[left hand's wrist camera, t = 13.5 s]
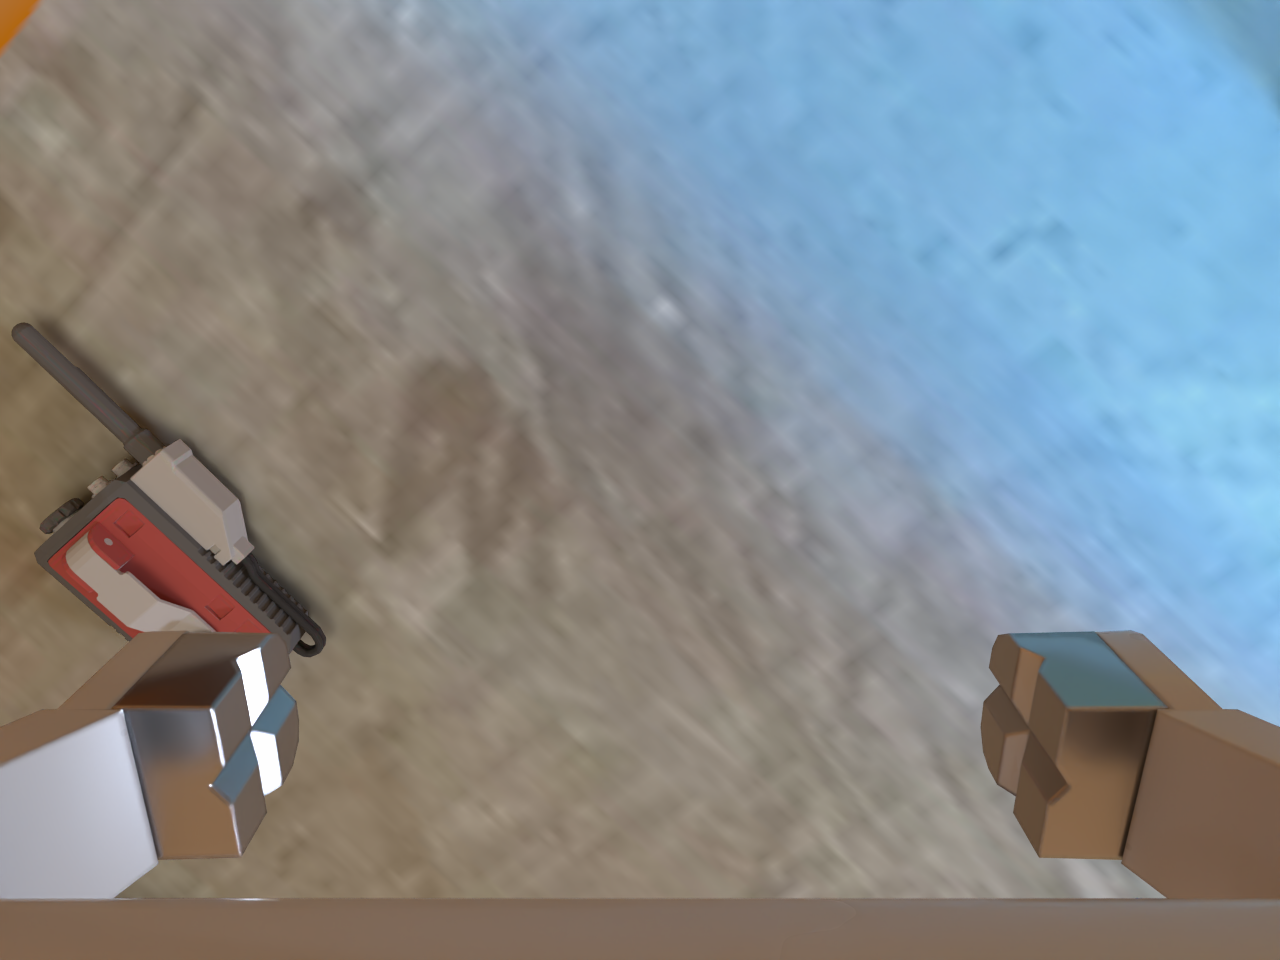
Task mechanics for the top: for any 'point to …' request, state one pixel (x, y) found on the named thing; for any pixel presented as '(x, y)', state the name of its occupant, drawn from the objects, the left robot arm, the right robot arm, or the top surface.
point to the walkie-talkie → (159, 536)
